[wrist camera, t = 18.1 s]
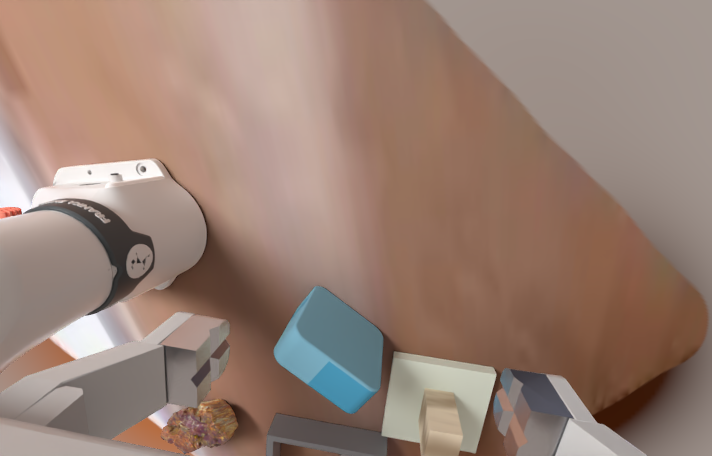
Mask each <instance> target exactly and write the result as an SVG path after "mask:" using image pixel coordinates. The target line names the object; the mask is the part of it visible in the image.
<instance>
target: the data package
mask: <svg viewBox="0 0 712 456" xmlns="http://www.w3.org/2000/svg"><path fill="white" fill-rule="evenodd" d="M382 354H383V336H382V333H381V332H380V331H379V329H378V328H377V327H375V326H374V325H373V324H372V323H370V322H369V321H368V320H366V319H365V318H364V317H362V316H361V315H360V314H358V313H357V312H356V311H354V310H353V309H352V308H350V307H349V306H348V305H346V304H345V303H344V302H342V301H341V300H340V299H338V298H337V297H336V296H335V295H333V294H332V293H331V292H329V291H328V290H327V289H325V288H323V287H320V286H316V287H314V288H313V290H312V291H311V292H310V293H309V295H308V296H307V297H306V298H305V299H304V301H303V302H302V303H301V304H300V305H299V307H298V308H297V309H296V311H295V313H294V315H293V316H292V318H291V320H290V322H289V323H288V325H287V327H286V329H285V330H284V332H283V334H282V336H281V337H280V339H279V341H278V343H277V344H276V346H275V348H274V356H275V359H276V360H277V362H278V363H279V364H280V365H281V366H283V367H284V368H285V369H287V370H288V371H289V372H291V373H292V374H294V375H295V376H296V377H298V378H299V379H300V380H302V381H303V382H305V383H306V384H307V385H309V386H310V387H312V388H313V389H314V390H316V391H317V392H318V393H320V394H321V395H323V396H324V397H325V398H327V399H328V400H329V401H331V402H332V403H334V404H335V405H336V406H338V407H339V408H340V409H342V410H343V411H345V412H347V413H350V414H353V413H355V412H357V411H358V410H359V409H360V408H361V407H362V406H363V405H364V404H365V403H366V402H367V401H368V400H369V399H370V398H371V397H372V396H373V395H374V394H375V393H376V392H377V391H378V390H379V389H380V386H381V370H382Z"/></svg>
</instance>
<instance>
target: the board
mask: <svg viewBox="0 0 712 456" xmlns="http://www.w3.org/2000/svg"><path fill="white" fill-rule="evenodd" d="M496 375H497V374H496V372H495V370H494V367H488V366H482V365H476V364H470V363H464V362H458V361H451V360H445V359H439V358H433V357H427V356H421V355H415V354H408V353H402V352H396V351H394V354H393V361H392V367H391V373H390V380H389V386H388V392H387V398H386V405H385V411H384V417H383V424H382V436H385V437H390V438H396V439H401V440H406V441H412V442H417V443H420V436H419V424H418V420H419V415H420V410H421V405H422V400H423V395H424V390H425V388H429V389H435V390H441V391H446V392H452V393H454V397H455V402H456V406H457V411H458V415H459V420H460V424H461V429H462V433H463V439H462V443H461V447H460V450H461V451H466V452H471V453H476V450H477V446H478V442H479V439H480V435H481V431H482V427H483V424H484V420H485V416H486V413H487V409H488V405H489V401H490V398H491V394H492V390H493V386H494V383H495V379H496Z"/></svg>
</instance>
